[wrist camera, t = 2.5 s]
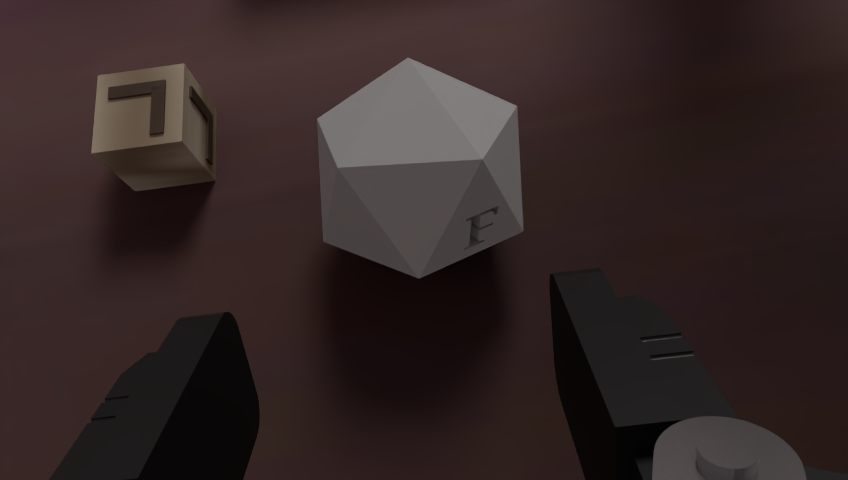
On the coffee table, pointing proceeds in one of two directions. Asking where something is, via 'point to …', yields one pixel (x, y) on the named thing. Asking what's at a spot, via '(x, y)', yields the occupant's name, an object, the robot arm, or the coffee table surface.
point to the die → (419, 170)
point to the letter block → (155, 128)
